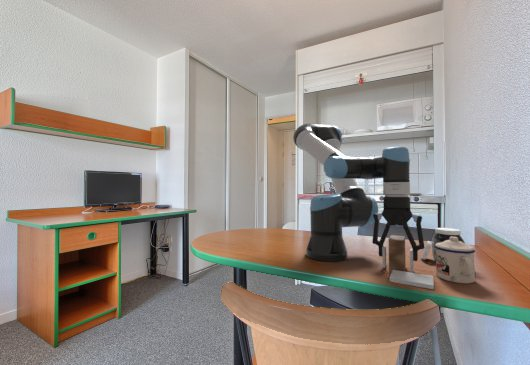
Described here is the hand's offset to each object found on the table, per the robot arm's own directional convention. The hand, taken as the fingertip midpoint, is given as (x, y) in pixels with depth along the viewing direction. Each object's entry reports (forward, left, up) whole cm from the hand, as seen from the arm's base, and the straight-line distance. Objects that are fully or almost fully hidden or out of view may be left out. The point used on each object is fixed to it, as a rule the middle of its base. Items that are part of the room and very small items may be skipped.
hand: (397, 268), depth 77 cm
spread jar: (+12, +16, -1) cm, 20 cm away
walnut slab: (0, 0, 0) cm, 0 cm away
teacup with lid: (+15, -1, 0) cm, 15 cm away
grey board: (+4, -8, 0) cm, 9 cm away
